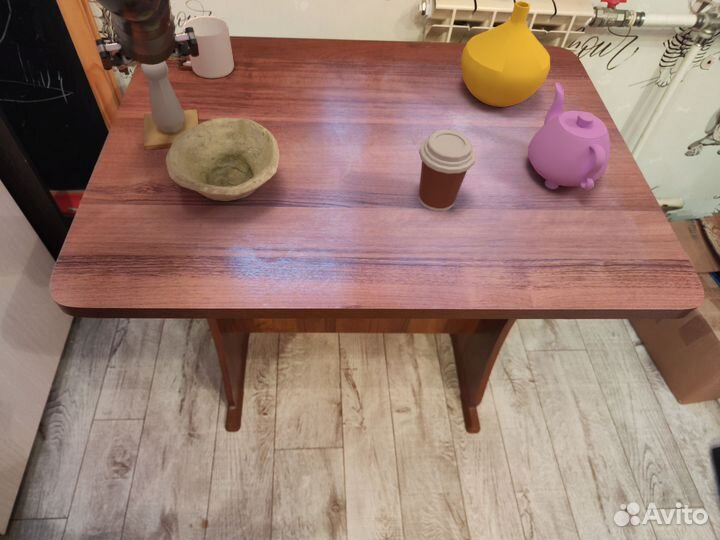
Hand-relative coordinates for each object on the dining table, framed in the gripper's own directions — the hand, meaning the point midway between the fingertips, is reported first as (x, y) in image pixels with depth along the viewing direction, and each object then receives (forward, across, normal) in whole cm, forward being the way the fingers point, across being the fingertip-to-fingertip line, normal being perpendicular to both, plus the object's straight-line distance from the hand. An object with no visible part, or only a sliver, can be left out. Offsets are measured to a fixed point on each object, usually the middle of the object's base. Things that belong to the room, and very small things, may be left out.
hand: (152, 64), depth 80 cm
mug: (+27, -12, -6) cm, 30 cm away
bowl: (-1, -6, +22) cm, 23 cm away
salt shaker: (+12, 0, +8) cm, 14 cm away
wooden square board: (+13, 0, +9) cm, 15 cm away
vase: (+5, -68, +16) cm, 70 cm away
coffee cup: (-12, -39, +33) cm, 53 cm away
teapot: (-13, -65, +34) cm, 75 cm away
